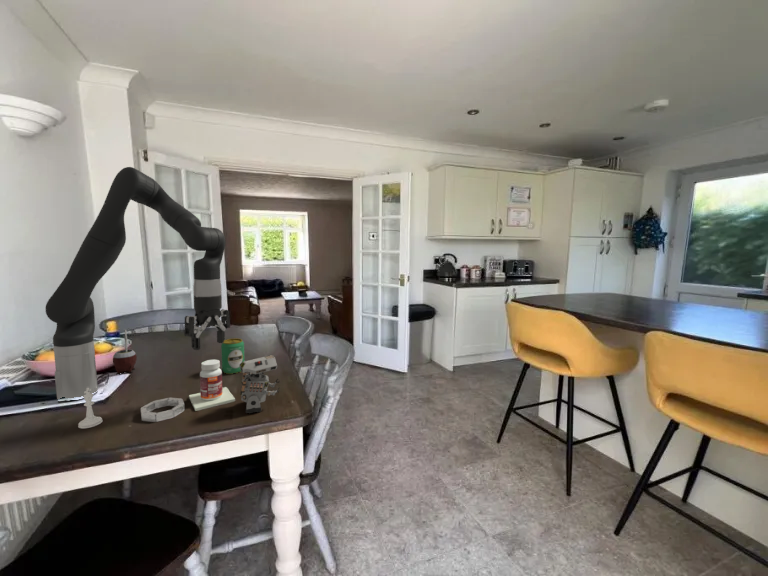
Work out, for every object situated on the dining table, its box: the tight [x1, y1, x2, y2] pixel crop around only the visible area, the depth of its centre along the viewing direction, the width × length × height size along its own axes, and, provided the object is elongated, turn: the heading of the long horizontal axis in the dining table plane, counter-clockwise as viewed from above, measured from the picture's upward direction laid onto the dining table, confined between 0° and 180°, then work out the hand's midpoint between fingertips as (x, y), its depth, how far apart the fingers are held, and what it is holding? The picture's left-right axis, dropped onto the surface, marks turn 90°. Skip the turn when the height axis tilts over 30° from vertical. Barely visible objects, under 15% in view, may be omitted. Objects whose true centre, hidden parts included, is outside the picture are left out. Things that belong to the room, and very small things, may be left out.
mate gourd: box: [112, 329, 138, 375], centre depth 126 cm, size 8×8×15 cm
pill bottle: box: [199, 359, 223, 401], centre depth 105 cm, size 6×6×11 cm
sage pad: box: [188, 386, 236, 412], centre depth 105 cm, size 11×11×1 cm
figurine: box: [239, 354, 281, 414], centre depth 101 cm, size 9×12×15 cm
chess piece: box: [77, 388, 103, 429], centre depth 89 cm, size 5×5×10 cm
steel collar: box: [140, 397, 185, 423], centre depth 96 cm, size 10×10×2 cm
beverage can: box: [220, 337, 246, 375], centre depth 129 cm, size 8×8×12 cm
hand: (208, 346), depth 103 cm, fingers open, 8 cm apart
